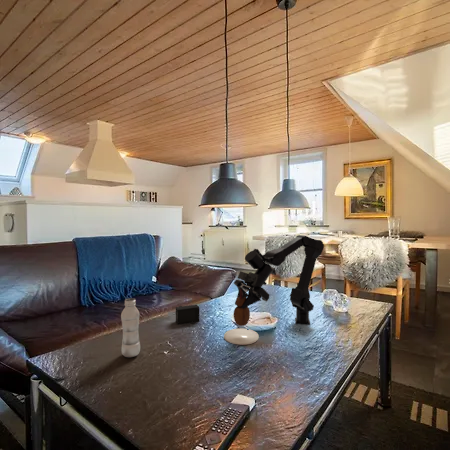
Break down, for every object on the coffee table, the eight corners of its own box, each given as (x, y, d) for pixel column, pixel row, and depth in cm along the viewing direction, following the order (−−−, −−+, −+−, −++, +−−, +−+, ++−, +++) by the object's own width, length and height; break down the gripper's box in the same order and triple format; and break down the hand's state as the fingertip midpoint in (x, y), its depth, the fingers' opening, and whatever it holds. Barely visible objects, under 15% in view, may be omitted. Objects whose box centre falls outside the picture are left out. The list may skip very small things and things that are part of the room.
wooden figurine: (243, 328, 116) (243, 290, 116) (231, 325, 119) (230, 288, 119) (252, 323, 122) (251, 287, 121) (240, 320, 125) (239, 285, 124)
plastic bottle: (123, 361, 101) (122, 303, 100) (120, 353, 107) (119, 298, 106) (142, 357, 104) (141, 301, 103) (138, 349, 110) (137, 296, 109)
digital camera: (196, 317, 144) (196, 303, 143) (199, 321, 138) (199, 306, 138) (175, 320, 139) (174, 306, 139) (177, 324, 134) (177, 309, 134)
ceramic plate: (227, 329, 129) (227, 327, 129) (259, 331, 126) (259, 329, 126) (221, 343, 115) (221, 341, 115) (257, 346, 113) (257, 344, 113)
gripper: (237, 260, 130) (215, 289, 125) (263, 267, 113) (239, 300, 108) (252, 276, 134) (231, 304, 129) (279, 285, 118) (256, 317, 113)
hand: (238, 306), depth 120 cm, fingers closed on wooden figurine, 5 cm apart
